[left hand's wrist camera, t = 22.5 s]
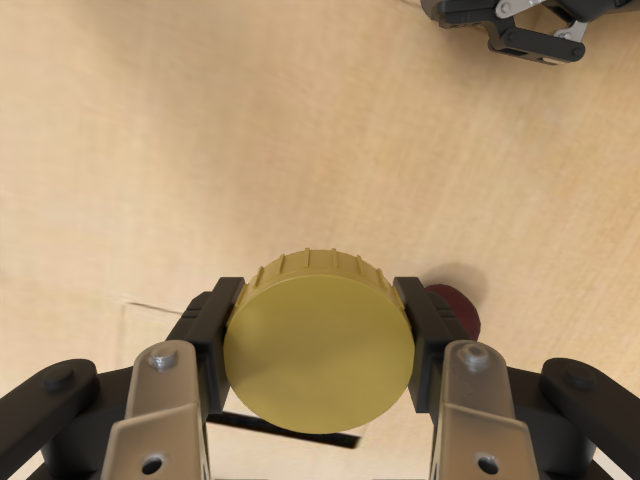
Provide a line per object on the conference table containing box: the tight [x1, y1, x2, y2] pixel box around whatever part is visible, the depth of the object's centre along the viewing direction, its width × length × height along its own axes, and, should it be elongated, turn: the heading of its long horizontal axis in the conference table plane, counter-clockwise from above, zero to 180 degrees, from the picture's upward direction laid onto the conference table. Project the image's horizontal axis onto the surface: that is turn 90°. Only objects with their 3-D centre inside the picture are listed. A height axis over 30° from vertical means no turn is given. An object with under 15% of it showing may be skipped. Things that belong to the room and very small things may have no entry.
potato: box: [424, 284, 481, 342], centre depth 37 cm, size 7×8×7 cm
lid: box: [223, 248, 415, 434], centre depth 10 cm, size 5×5×2 cm
